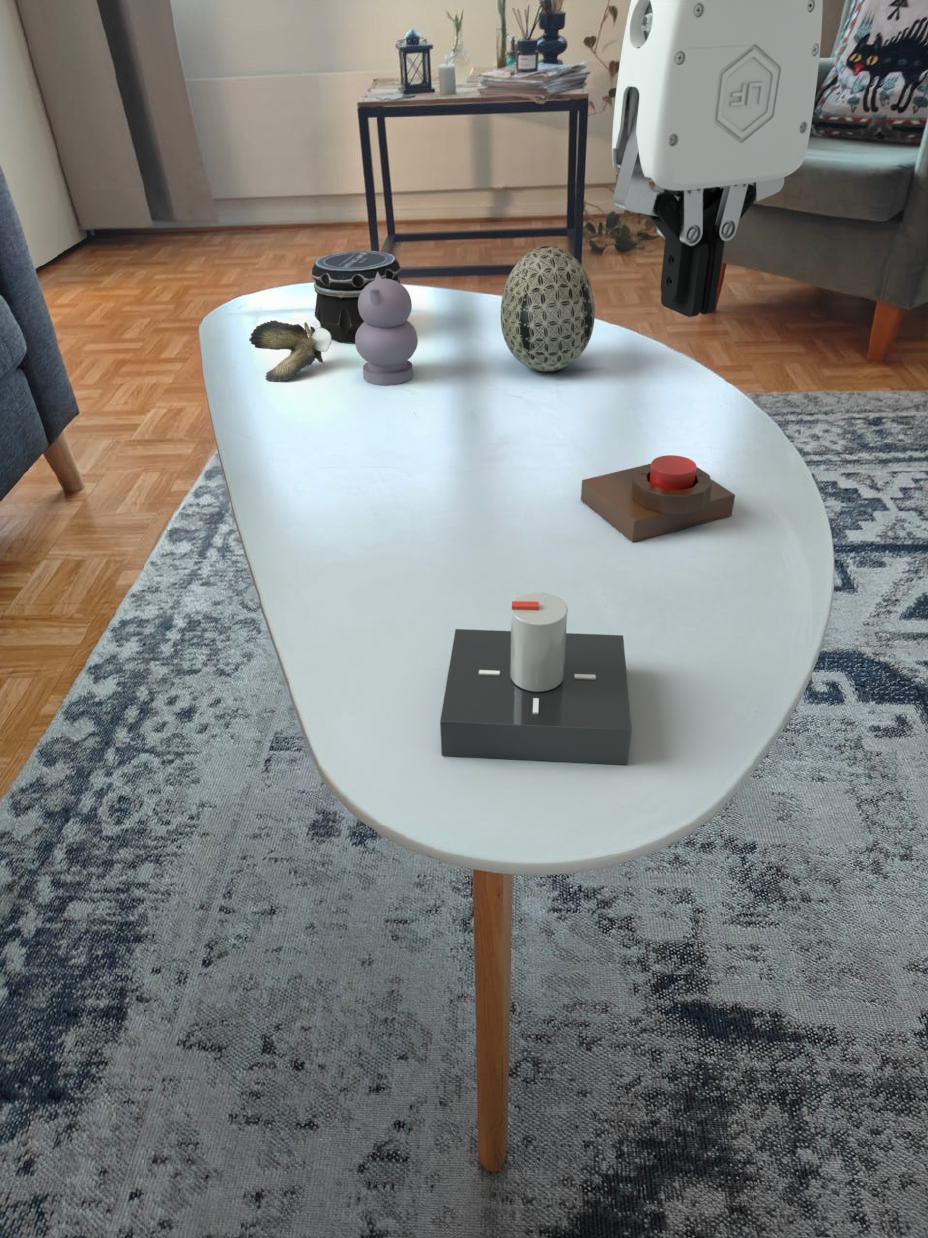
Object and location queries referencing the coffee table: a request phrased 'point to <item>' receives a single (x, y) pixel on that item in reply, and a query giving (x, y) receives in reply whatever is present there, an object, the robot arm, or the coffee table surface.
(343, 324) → the container
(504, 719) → the hob panel
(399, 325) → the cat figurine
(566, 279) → the decorative egg
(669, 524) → the power block
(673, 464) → the power button
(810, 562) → the coffee table surface
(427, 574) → the coffee table surface
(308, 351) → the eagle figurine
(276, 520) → the coffee table surface
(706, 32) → the robot arm
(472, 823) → the coffee table surface
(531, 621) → the hob knob
